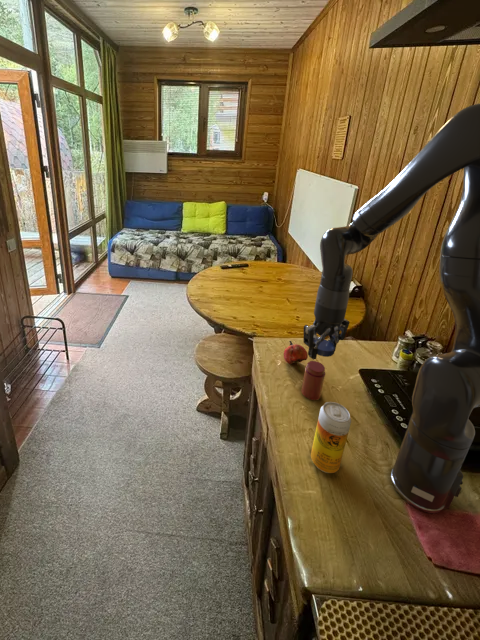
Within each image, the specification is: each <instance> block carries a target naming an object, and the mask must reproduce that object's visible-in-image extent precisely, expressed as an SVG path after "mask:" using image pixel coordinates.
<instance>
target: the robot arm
mask: <svg viewBox="0 0 480 640" xmlns="http://www.w3.org/2000/svg"><path fill="white" fill-rule="evenodd" d="M461 170H463V181H462V193H461V198H460V202H459V204H458V207H457V209H456V211H455V213H454V215H453V217H452V219H451V221H450V223H449V225H448V227H447V229H446V231H445V233H444V236H443V239H442V243H441V246H440V253H439V254H440V256H439V267H438V281H439V285H440V289H441V292H442V294H443V296H444V298H445V300H446V302H447V304H448V306H449V307H450V310H451V313H452V315H453V318H454V337H453V338H454V339H453V345H452V348H451V351H450V352H445V353H441V354H437V355H436V354H435V355H433V356H430V357H428V358H426V359H425V360H424V361H423V363H422V364H421V366H420V368H419V370H418V373H417V376H416V380H415V384H414V388H413V391H412V395H411V405H412V406H411V407H412V413H411V415H410V418H409V421H408V424H407V427H406V430H405V433H404V436H403V439H402V442H401V444H400V447H399V451H398V453H397V456H396V460H395V461H394V462H395V463H394V465H393V467H392V469H391V471H390V481H391V484H392V486H393V488H394V489H395V491H396V492H397V494H398V495H399V496H400V497H401V498H402V499H403V500H404V501H405V502H407V504H409V505H410V506H412V507H413V508H415V509H416V510H419V511H421V512H425V513H428V514H438V513H441V512H442V511H443V510H444V509H445V510H449V509H450V508H451V506H452V503H453V501H454V499H455V498H459V495H460V493H461V491H462V486H461V485H463V484H464V481H463V479H464V474H463V472H462V470H461V468H462V466H463V465H464V462H465V460H466V457H467V455H468V452H469V450H470V448H471V445H472V443H473V441H474V439H475V437H476V430H475V426H474V424H473V423H472V421H471V420H470V419H469V418H470V416H471V413H472V411H473V410H474V409H476V408H479V407H480V103H475V104H471V105H469V106H467V107H465V108H462V109H461V110H459V111H458V112H456V113H455V114H453V116H451V117H450V118H449V119H448V120H447V121H446V122H445V123H444V124H443V125H442V126H441V127H440V128H439V130H438V131H436V133H435V134H434V135H433V136H432V137H431V138H430V140H429V141H428V142H427V143H426V144H425V145H424V147H422V149H420V151H419V152H418V153H417V154H416V155H415V156H414V157H413V158H412V159H411V160H410V162H409V163H408V164H406V166H405V167H404V168H403V169H402V170H401V171H400V172H399V173H398V174H397V175H396V176H395V177H394V178H393V179H392V180H391V181H390V182H389V183H388V184H387V185H385V187H384V188H382V189H381V190H380V191H379V192H378V193H376V194H375V195H374V196H373V197H372V198H370V199H369V200H368V201H366V202H365V203H364V204H363V205H362V206H361V207H359V208H358V209H357V210H356V212H354V214H353V215H352V219H351V223H349V224H348V225H346V226H338V227H332V228H331V227H330V228H329V229H327V230H326V231H324V233H323V235H322V236H321V239H320V243H319V250H320V252H319V253H320V260H321V266H322V270H321V275H320V280H319V285H318V289H317V291H316V292H317V293H316V298H315V305H314V309H313V315H314V321H313V324H311V325H308V324H305V325H304V326H303V339H302V340H303V344H305V345H306V346H307V347H308V351H307V354H308V357H309V358H311V359H312V361H315V360H316V359H317V355H318V354H317V351H318V346H319V344H320V343H321V342H323V341H324V339H325V340H326V337H328V339H327V341H330V342H331V343H332V344H333V345H334V346H335V351H334V353H335V352H336V349H337V344H338V343H339V342H340V341H343V340H345V338H346V335H347V331H348V328H349V326H350V323H351V322H350V321H349V320H348V319H347V318H346V312H347V310H348V309H347V308H348V303H349V300H350V288H351V285H352V279H353V274H354V273H353V272H354V270H353V267H352V266H351V265H349V264H348V263H345V258H346V256H351V255H355V254H357V253H360V252H361V251H363V250H364V249H366V248H367V247H369V245H371V244H372V242H373V241H375V240H376V238H377V237H378V236H379V235H380V234H382V233H383V232H384V231H386V230H387V229H389V228H391V227H392V226H394V225H395V224H396V223H398V222H399V221H400V220H402V219H403V218H405V217H406V216H407V215H408V214H409V213H410V212H411V211H412V209H414V208H415V206H416V205H417V204H418V203H419V201H420V200H421V199H422V198H423V197H424V196H425V194H427V193H428V192H429V191H430V190H431V189H432V188H434V187H435V186H436V185H437V184H439V183H440V182H442V181H443V180H445V179H446V178H449V177H450V176H452V175H453V174H455V173H457V172H459V171H461ZM340 332H341V333H340ZM315 339H316V340H317V341H316V343H314V340H315Z"/></svg>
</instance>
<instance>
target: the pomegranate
mask: <svg viewBox="0 0 480 640" xmlns="http://www.w3.org/2000/svg"><path fill="white" fill-rule="evenodd" d="M288 343H289V345H288V346H287V347H285V348H284V351H283V359H284V361H285V362H286V364H287V365H293V364H294V363H295V364H296V365H297V368H298V371H299V372H301V369H300V365H299V363H302V362H303V361H306V360H308V357H309V355H308V351H307V349H306V348H305V347H304V346H302V345H300V344H297V343H295V344H294V343H293V342H292V340H289V341H288Z"/></svg>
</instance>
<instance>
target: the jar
mask: <svg viewBox="0 0 480 640" xmlns="http://www.w3.org/2000/svg"><path fill="white" fill-rule="evenodd" d="M325 377H326V367H325V365H324V364H323V363H321V362H319V361H317V360H310V361H308V362H307V363H306V366H305V368H304V373H303V378H302V384H301V390H300V392H301V394H302V396H303V397H305V398H306V399H309V400H311V401H318V400H320V399H321V397H322V393H323V388H324V383H325V379H326V378H325Z"/></svg>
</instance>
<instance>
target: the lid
mask: <svg viewBox="0 0 480 640" xmlns="http://www.w3.org/2000/svg"><path fill="white" fill-rule="evenodd" d="M316 341H317V340H316V339H315V340H314V343H316ZM334 351H335V352H336V349H335V346H334V345H333V344H332V343H331V342H330V341H328V339H326V338H325V339H324V341H323V342H321V343H320V344H319V346H318V351H317V355H318V356H320V357H323V358H324V357H325V358H329V357H332V356H334V355H335V352H334Z"/></svg>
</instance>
